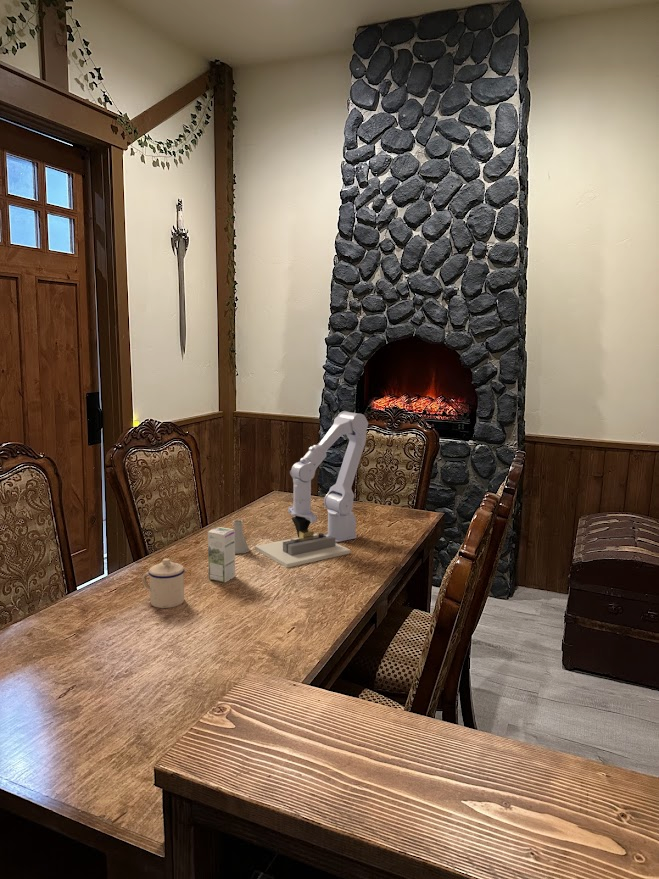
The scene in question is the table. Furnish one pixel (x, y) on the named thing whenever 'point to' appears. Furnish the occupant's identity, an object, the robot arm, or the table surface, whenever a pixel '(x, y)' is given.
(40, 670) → the table surface
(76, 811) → the table surface
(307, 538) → the block
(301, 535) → the block
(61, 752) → the table surface
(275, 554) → the hearth board
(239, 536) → the flask
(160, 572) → the teacup with lid
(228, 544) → the syrup box
